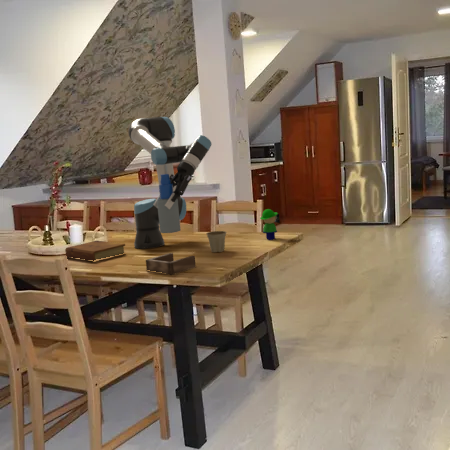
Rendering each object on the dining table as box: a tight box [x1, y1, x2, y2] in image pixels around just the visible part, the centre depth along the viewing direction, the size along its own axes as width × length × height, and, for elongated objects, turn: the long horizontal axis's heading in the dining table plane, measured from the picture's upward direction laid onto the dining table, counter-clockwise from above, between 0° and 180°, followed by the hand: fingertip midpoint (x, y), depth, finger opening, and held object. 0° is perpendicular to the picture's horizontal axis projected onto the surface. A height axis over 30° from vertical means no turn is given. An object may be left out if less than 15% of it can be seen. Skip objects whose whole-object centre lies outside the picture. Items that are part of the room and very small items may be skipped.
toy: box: [260, 208, 281, 241], centre depth 298 cm, size 9×9×15 cm
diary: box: [64, 240, 126, 261], centre depth 291 cm, size 23×19×6 cm
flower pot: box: [206, 230, 227, 253], centre depth 279 cm, size 9×9×9 cm
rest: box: [145, 252, 197, 276], centre depth 250 cm, size 15×14×5 cm
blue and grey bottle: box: [156, 174, 181, 234], centre depth 261 cm, size 9×9×25 cm
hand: (161, 206), depth 259 cm, fingers closed on blue and grey bottle, 8 cm apart
